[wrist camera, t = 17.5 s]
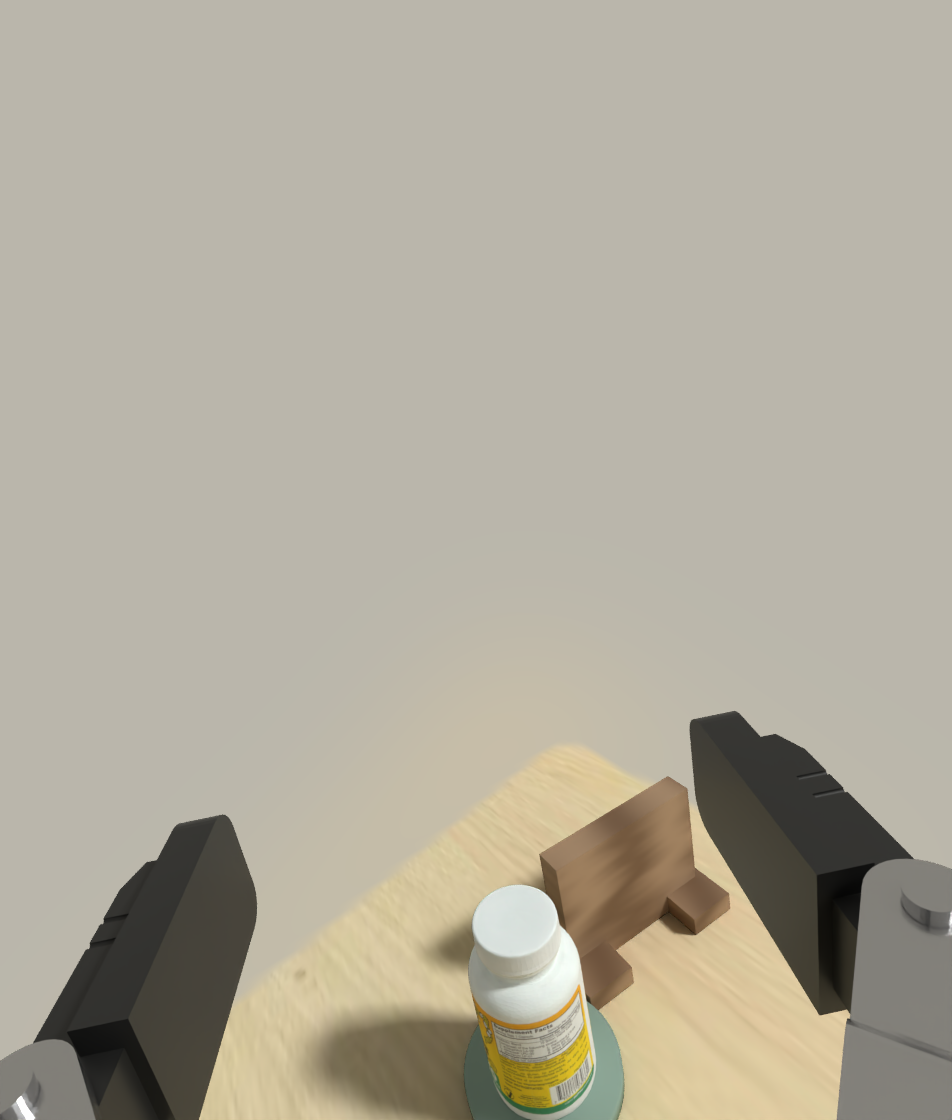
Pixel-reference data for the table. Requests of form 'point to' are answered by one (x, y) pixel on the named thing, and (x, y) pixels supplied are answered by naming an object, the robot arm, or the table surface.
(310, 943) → the table surface
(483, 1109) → the pad
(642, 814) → the divider
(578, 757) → the table surface
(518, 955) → the supplement bottle
